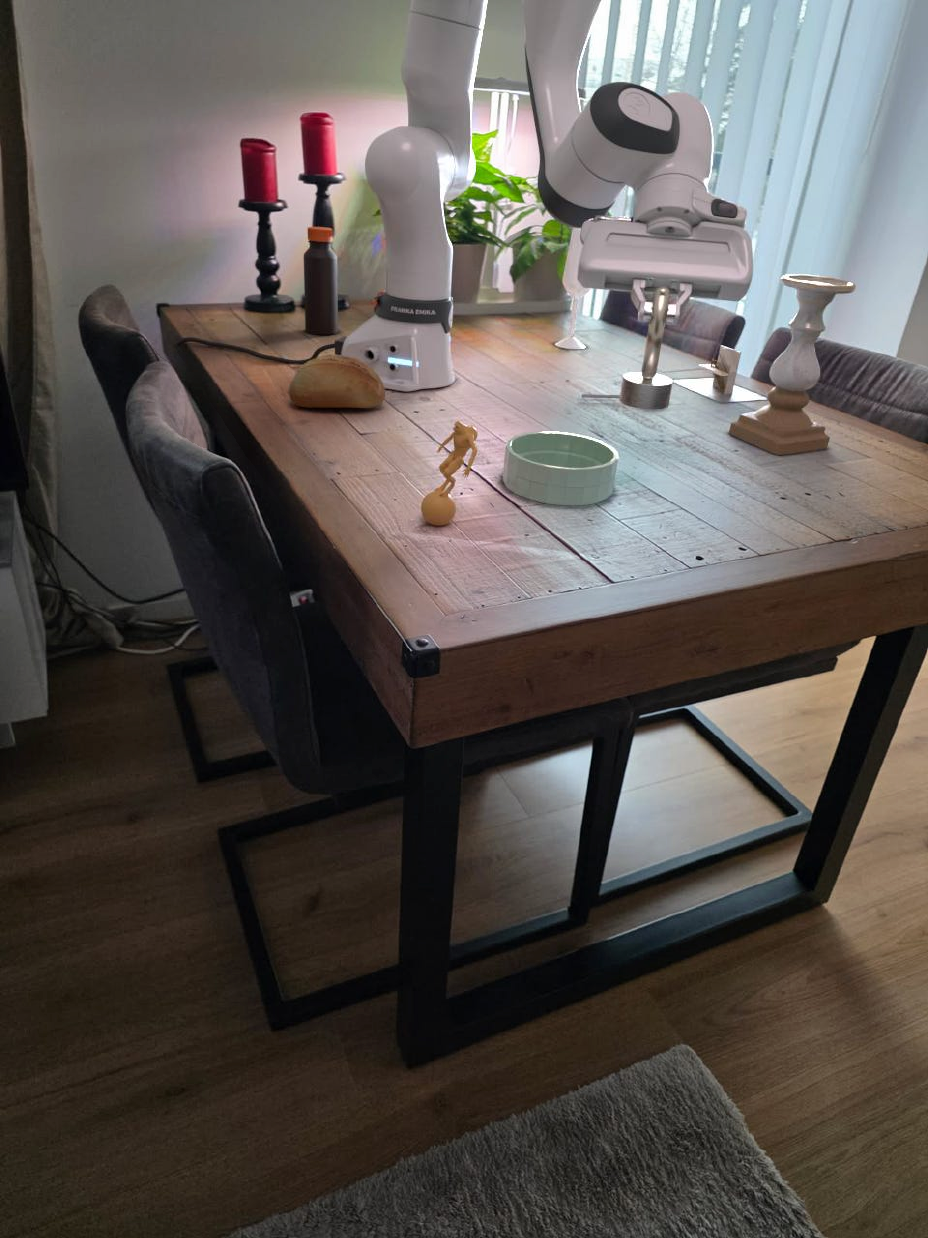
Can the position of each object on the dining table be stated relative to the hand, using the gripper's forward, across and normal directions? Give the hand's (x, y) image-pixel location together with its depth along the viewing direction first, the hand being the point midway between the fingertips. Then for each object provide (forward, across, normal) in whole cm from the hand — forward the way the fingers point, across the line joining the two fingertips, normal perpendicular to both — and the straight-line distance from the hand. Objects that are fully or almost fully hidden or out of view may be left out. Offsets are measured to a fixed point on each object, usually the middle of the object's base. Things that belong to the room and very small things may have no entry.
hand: (658, 320), depth 99 cm
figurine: (+27, -21, +4) cm, 34 cm away
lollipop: (-16, 0, +47) cm, 50 cm away
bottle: (-37, -63, +67) cm, 99 cm away
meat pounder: (+6, 0, +7) cm, 10 cm away
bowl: (+15, -9, +15) cm, 23 cm away
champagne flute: (-44, -11, +75) cm, 88 cm away
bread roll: (-1, -45, +31) cm, 55 cm away
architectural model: (-27, +18, +58) cm, 66 cm away
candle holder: (-6, +24, +37) cm, 44 cm away
